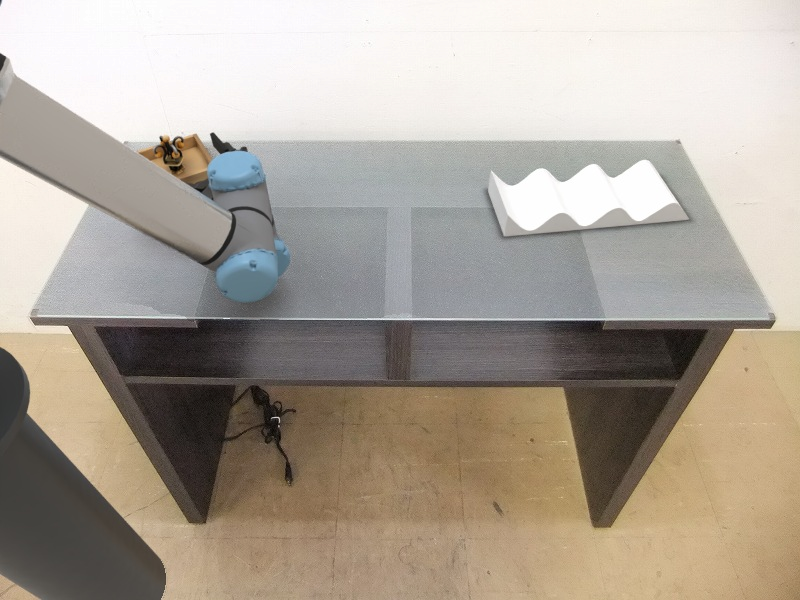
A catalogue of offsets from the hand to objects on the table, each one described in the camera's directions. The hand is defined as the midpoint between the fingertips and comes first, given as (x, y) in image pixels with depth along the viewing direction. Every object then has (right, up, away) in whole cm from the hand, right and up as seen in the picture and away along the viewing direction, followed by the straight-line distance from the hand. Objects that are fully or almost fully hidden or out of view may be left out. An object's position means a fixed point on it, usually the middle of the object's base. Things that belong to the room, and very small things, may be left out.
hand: (178, 151), depth 109 cm
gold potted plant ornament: (-4, -1, +11) cm, 12 cm away
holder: (-4, -2, +12) cm, 13 cm away
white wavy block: (+76, -9, +5) cm, 77 cm away
